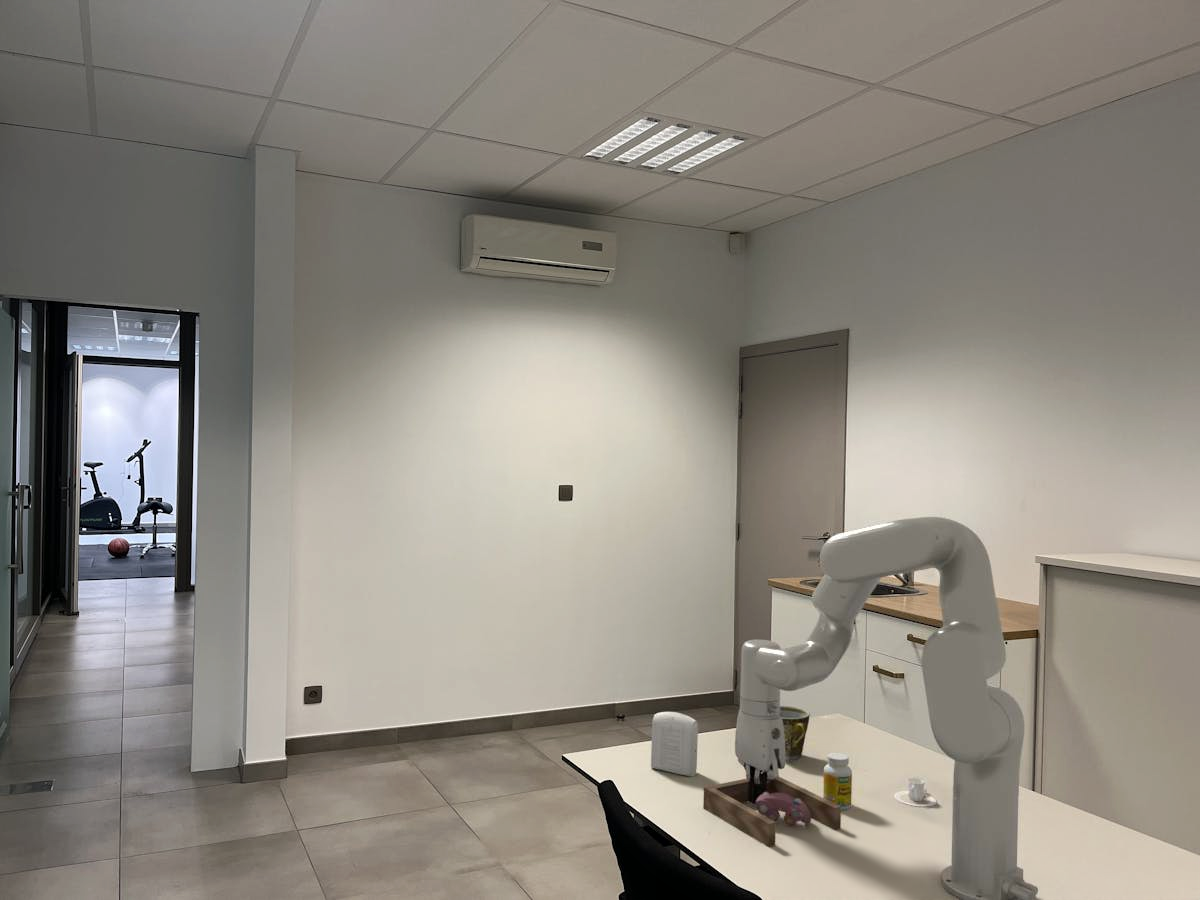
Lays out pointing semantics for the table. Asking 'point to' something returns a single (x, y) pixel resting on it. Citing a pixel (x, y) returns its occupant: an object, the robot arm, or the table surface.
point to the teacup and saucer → (915, 793)
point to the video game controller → (783, 808)
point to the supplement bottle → (838, 780)
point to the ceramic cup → (794, 731)
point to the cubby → (730, 808)
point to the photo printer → (674, 743)
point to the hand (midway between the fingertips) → (756, 801)
